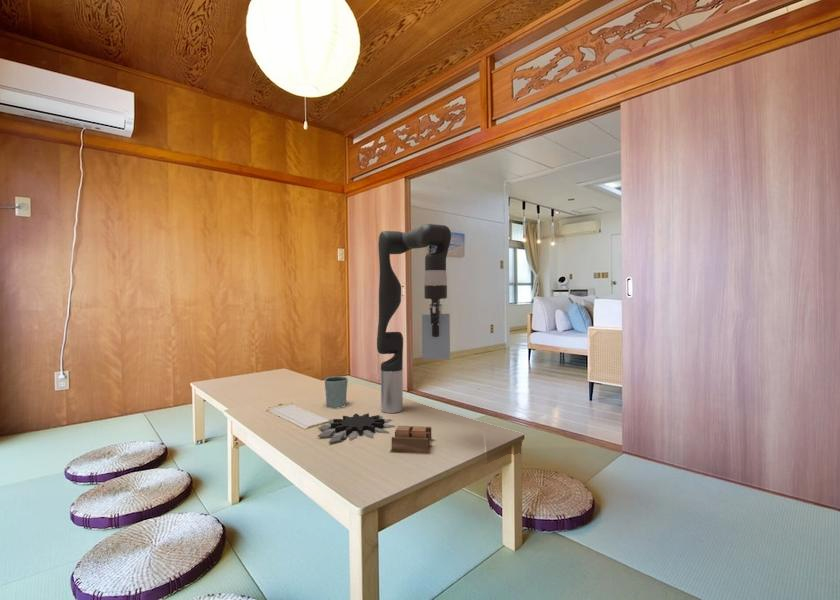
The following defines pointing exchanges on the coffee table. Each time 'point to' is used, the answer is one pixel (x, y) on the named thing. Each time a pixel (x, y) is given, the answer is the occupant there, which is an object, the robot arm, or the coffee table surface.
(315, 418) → the baseboard molding
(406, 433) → the offcut
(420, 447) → the rack
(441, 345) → the tall board
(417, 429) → the offcut
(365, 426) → the decorative piece
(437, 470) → the coffee table surface
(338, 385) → the teal cup
